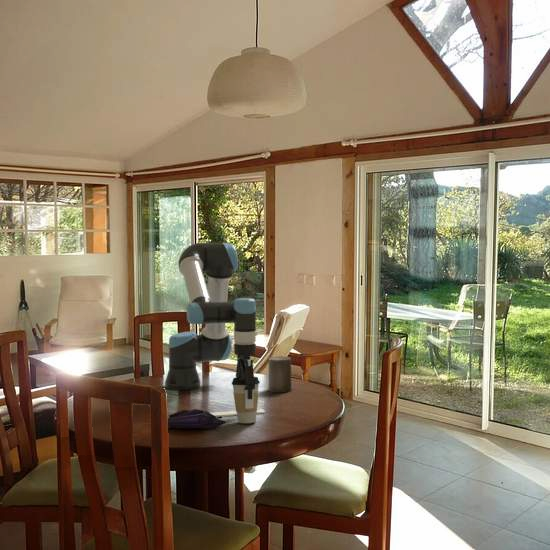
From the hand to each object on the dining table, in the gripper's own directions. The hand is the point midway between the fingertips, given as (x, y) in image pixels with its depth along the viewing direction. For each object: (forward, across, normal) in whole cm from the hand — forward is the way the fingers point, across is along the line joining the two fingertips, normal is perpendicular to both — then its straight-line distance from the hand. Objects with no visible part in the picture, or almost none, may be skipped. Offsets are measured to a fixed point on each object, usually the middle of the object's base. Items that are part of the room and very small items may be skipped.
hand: (245, 403), depth 215 cm
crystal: (+7, -4, +18) cm, 19 cm away
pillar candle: (+6, +41, -24) cm, 48 cm away
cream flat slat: (+6, +9, +3) cm, 11 cm away
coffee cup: (+6, -3, 0) cm, 7 cm away
